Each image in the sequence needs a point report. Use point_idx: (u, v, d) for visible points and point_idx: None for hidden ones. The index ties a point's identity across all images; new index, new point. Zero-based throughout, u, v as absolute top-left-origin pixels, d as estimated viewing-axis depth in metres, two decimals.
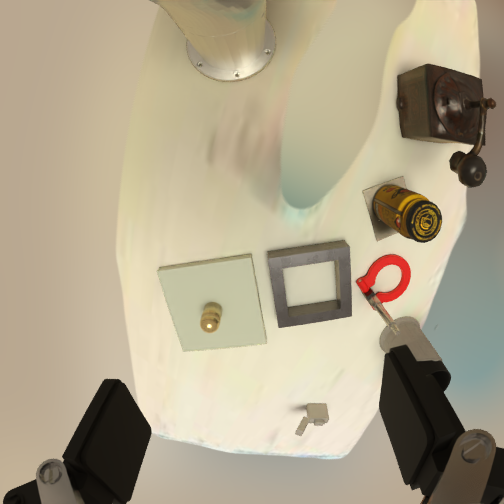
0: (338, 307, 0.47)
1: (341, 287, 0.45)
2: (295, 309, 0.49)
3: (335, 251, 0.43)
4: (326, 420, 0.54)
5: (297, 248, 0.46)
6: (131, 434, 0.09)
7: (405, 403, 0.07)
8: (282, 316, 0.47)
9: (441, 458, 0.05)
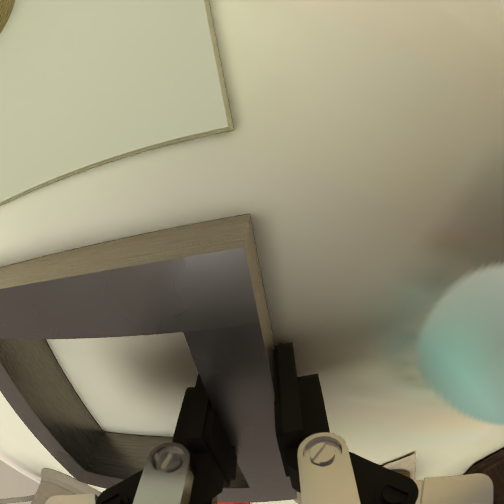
0: (85, 461, 0.11)
1: None
2: (27, 339, 0.10)
3: (282, 482, 0.09)
4: None
5: None
6: None
7: None
8: None
9: (295, 454, 0.06)
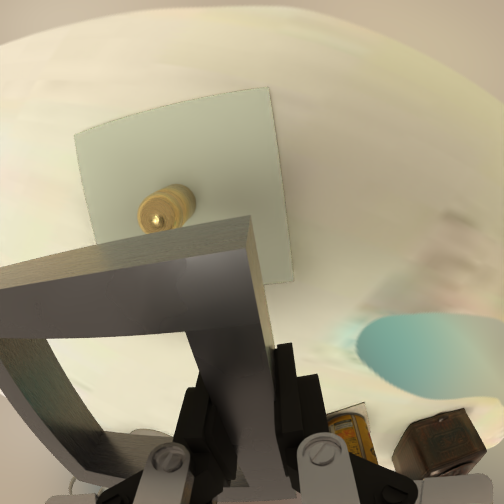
0: (86, 460, 0.11)
1: None
2: (28, 338, 0.10)
3: (281, 481, 0.10)
4: None
5: None
6: None
7: None
8: None
9: (294, 454, 0.06)
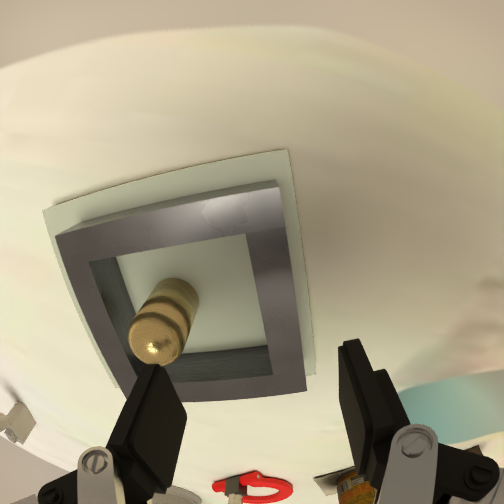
0: None
1: (196, 384, 0.17)
2: (111, 269, 0.17)
3: (296, 366, 0.16)
4: (18, 440, 0.24)
5: None
6: (171, 419, 0.09)
7: (351, 394, 0.08)
8: (86, 244, 0.14)
9: (382, 450, 0.06)
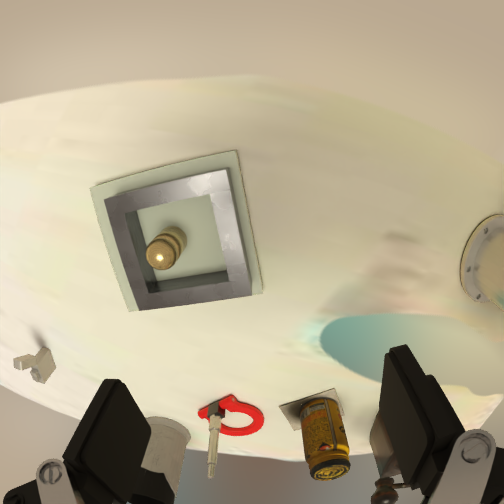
0: (149, 288, 0.30)
1: (184, 290, 0.29)
2: (135, 221, 0.29)
3: (243, 275, 0.29)
4: (40, 381, 0.36)
5: (238, 214, 0.29)
6: (131, 434, 0.09)
7: (405, 403, 0.07)
8: (124, 203, 0.26)
9: (441, 458, 0.05)
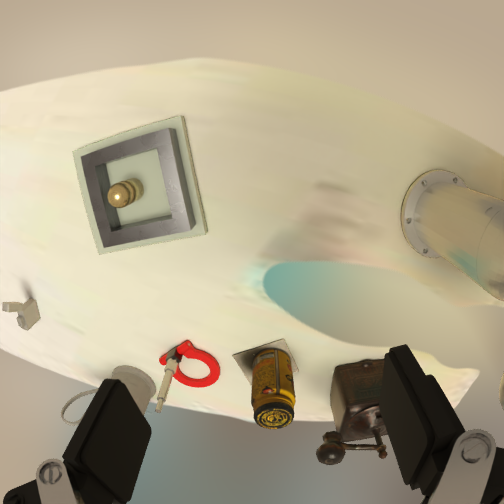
0: (112, 228, 0.35)
1: (137, 227, 0.35)
2: (104, 174, 0.34)
3: (183, 213, 0.34)
4: (25, 328, 0.42)
5: (181, 165, 0.34)
6: (131, 434, 0.09)
7: (405, 403, 0.07)
8: (95, 158, 0.32)
9: (441, 458, 0.05)
